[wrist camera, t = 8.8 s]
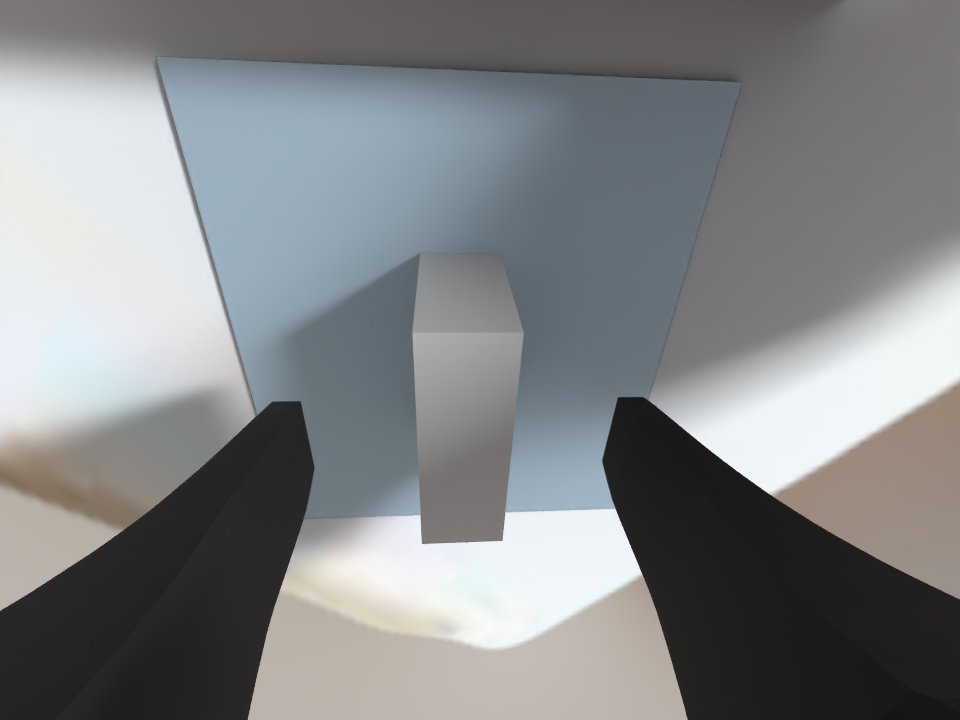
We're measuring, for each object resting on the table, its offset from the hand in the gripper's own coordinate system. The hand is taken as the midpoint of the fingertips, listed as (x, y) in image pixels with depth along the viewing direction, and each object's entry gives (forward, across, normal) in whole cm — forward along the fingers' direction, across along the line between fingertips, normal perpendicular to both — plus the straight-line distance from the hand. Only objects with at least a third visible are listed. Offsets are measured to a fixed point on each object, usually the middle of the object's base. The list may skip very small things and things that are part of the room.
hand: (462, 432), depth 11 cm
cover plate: (+4, 0, 0) cm, 4 cm away
